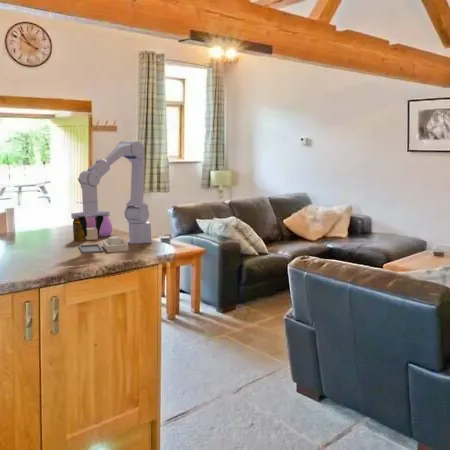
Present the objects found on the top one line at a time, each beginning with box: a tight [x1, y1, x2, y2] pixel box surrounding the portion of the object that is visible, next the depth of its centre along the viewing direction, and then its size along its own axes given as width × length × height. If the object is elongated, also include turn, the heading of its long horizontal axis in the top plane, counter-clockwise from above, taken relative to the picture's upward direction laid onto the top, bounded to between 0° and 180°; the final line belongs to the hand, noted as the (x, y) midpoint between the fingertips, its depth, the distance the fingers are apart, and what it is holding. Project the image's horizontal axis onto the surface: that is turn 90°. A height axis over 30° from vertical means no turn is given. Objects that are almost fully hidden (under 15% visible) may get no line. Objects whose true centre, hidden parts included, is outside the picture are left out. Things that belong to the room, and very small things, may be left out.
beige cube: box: [86, 227, 99, 241], centre depth 205 cm, size 4×4×4 cm
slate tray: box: [78, 243, 105, 255], centre depth 210 cm, size 8×13×1 cm, turn 21°
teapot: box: [86, 215, 113, 238], centre depth 241 cm, size 20×13×12 cm, turn 23°
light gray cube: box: [107, 235, 121, 245], centre depth 214 cm, size 4×4×4 cm
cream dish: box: [102, 238, 129, 253], centre depth 212 cm, size 8×12×3 cm
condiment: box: [72, 218, 88, 243], centre depth 227 cm, size 7×8×12 cm
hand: (91, 235), depth 205 cm, fingers closed on beige cube, 4 cm apart
